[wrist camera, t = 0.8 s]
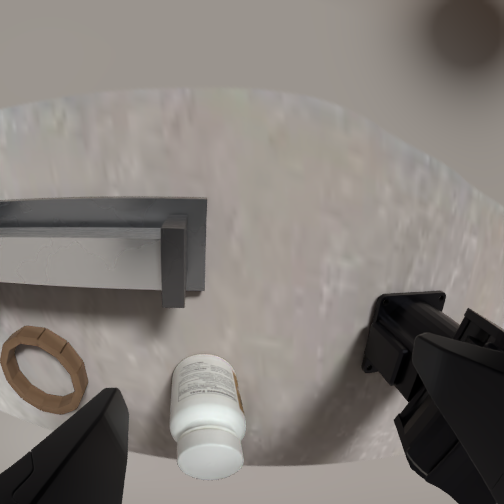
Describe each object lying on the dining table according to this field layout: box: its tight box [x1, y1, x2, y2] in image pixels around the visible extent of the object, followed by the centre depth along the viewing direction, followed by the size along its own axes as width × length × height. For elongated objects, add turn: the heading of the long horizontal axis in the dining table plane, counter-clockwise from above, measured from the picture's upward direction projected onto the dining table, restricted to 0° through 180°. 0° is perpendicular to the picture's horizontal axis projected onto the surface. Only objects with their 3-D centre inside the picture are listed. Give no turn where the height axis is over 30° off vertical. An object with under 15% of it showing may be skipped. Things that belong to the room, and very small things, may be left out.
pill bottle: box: [170, 354, 246, 480], centre depth 17 cm, size 4×4×8 cm
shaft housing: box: [0, 197, 207, 291], centre depth 14 cm, size 24×5×5 cm, turn 87°
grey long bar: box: [0, 215, 188, 308], centre depth 14 cm, size 15×4×4 cm, turn 87°
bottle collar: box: [0, 326, 88, 414], centre depth 18 cm, size 7×7×2 cm
